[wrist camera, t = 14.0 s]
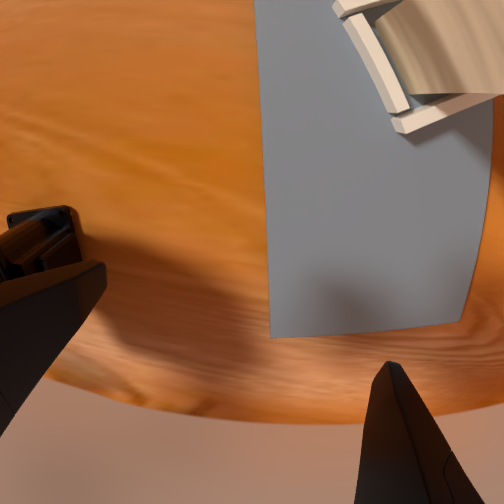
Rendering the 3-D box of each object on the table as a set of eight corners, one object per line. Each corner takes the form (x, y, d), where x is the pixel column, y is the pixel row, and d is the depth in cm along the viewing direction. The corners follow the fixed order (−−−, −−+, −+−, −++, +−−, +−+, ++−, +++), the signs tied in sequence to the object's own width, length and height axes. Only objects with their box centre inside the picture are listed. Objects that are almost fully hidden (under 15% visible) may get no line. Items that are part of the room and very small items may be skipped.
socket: (395, 131, 16) (406, 133, 15) (331, 6, 13) (337, -2, 12) (490, 92, 14) (504, 93, 13) (438, -20, 12) (448, -27, 10)
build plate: (270, 329, 23) (270, 338, 22) (251, -31, 13) (251, -37, 12) (454, 314, 22) (459, 321, 21) (474, 2, 12) (482, -1, 11)
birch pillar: (408, 94, 15) (573, 101, 4) (372, 23, 14) (503, -60, 3) (464, 73, 14) (621, 77, 3) (432, 6, 13) (571, -48, 2)
